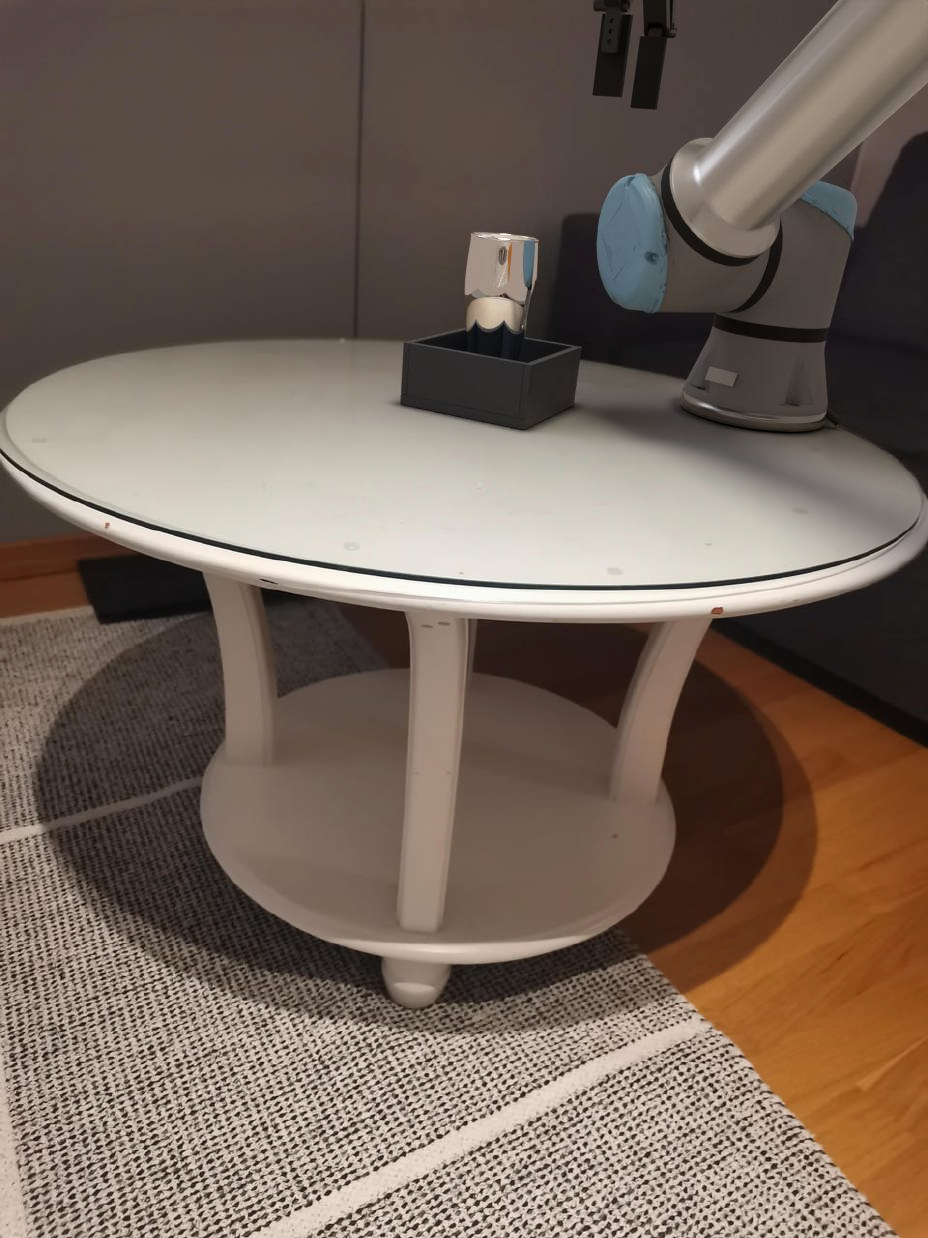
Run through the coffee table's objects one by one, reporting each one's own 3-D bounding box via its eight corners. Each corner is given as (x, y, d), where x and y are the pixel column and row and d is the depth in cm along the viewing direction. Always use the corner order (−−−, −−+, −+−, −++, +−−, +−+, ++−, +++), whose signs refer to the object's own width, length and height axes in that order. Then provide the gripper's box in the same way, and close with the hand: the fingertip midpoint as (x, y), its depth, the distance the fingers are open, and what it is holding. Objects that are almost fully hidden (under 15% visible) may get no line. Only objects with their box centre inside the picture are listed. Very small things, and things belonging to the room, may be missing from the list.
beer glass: (522, 389, 99) (539, 236, 92) (525, 405, 92) (543, 242, 86) (456, 383, 99) (468, 229, 92) (454, 399, 92) (467, 235, 86)
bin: (574, 404, 99) (582, 346, 96) (523, 430, 88) (531, 365, 85) (460, 382, 104) (465, 326, 101) (399, 404, 93) (403, 341, 90)
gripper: (655, -124, 96) (623, 110, 106) (581, -215, 76) (549, 87, 85) (729, -126, 94) (689, 115, 103) (673, -220, 73) (630, 92, 82)
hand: (626, 103), depth 94 cm, fingers open, 13 cm apart
